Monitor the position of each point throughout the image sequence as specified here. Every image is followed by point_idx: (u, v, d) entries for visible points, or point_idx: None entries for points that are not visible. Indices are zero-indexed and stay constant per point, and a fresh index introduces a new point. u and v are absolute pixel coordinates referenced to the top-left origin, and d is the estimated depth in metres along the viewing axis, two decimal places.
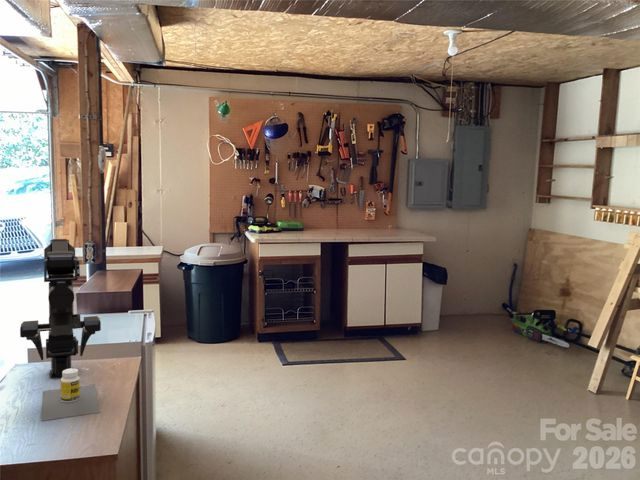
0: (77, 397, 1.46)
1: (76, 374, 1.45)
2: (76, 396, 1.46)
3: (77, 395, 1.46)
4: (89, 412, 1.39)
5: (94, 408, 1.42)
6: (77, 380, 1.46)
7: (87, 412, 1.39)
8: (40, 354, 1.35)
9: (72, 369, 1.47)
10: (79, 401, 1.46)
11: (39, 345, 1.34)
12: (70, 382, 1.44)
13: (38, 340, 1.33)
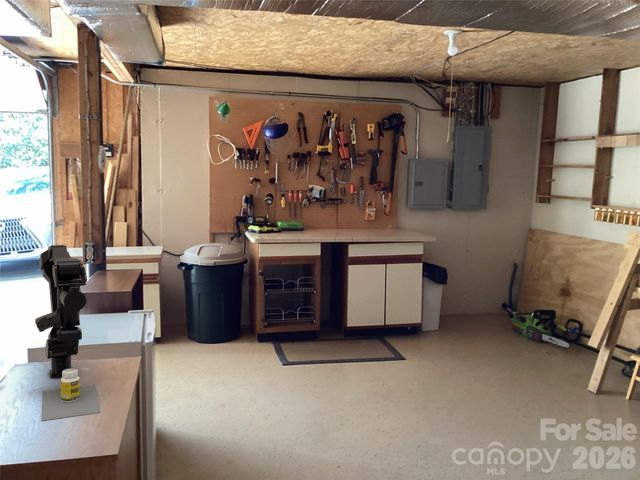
0: (77, 397, 1.46)
1: (76, 374, 1.45)
2: (76, 396, 1.46)
3: (77, 395, 1.46)
4: (89, 412, 1.39)
5: (94, 408, 1.42)
6: (77, 380, 1.46)
7: (87, 412, 1.39)
8: None
9: (72, 369, 1.47)
10: (79, 401, 1.46)
11: None
12: (70, 382, 1.44)
13: None
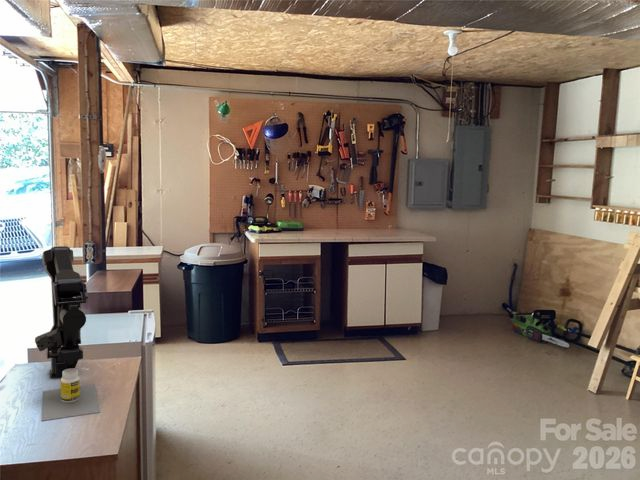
0: (77, 397, 1.46)
1: (76, 374, 1.45)
2: (76, 396, 1.46)
3: (77, 395, 1.46)
4: (89, 412, 1.39)
5: (94, 408, 1.42)
6: (77, 380, 1.45)
7: (87, 412, 1.39)
8: None
9: (72, 369, 1.46)
10: (79, 401, 1.46)
11: None
12: (70, 383, 1.44)
13: None
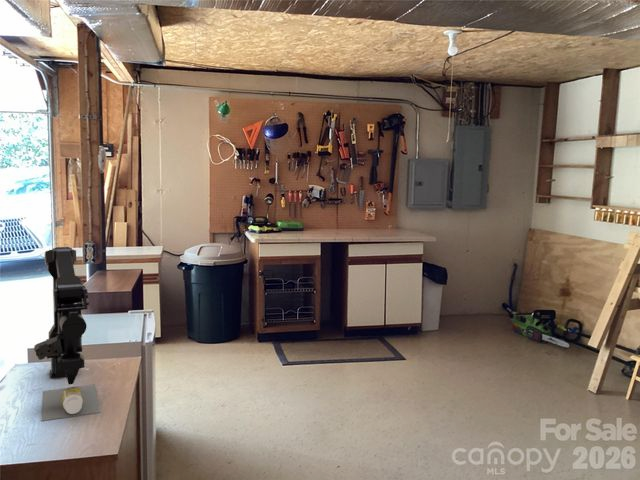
0: None
1: None
2: None
3: None
4: (89, 412, 1.39)
5: (94, 408, 1.42)
6: None
7: (87, 412, 1.39)
8: None
9: (76, 402, 1.37)
10: None
11: None
12: None
13: None
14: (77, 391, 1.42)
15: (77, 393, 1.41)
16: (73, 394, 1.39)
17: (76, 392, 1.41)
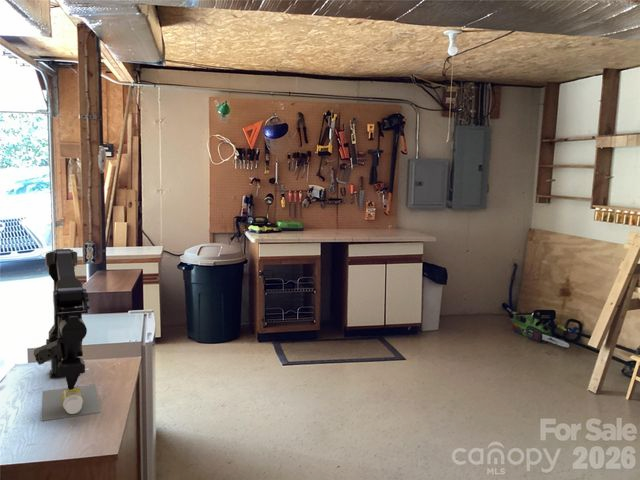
0: None
1: None
2: None
3: None
4: (89, 412, 1.39)
5: (94, 408, 1.42)
6: None
7: (87, 412, 1.39)
8: None
9: (76, 402, 1.37)
10: None
11: None
12: None
13: None
14: (77, 391, 1.42)
15: (77, 393, 1.41)
16: (73, 394, 1.39)
17: (76, 392, 1.41)
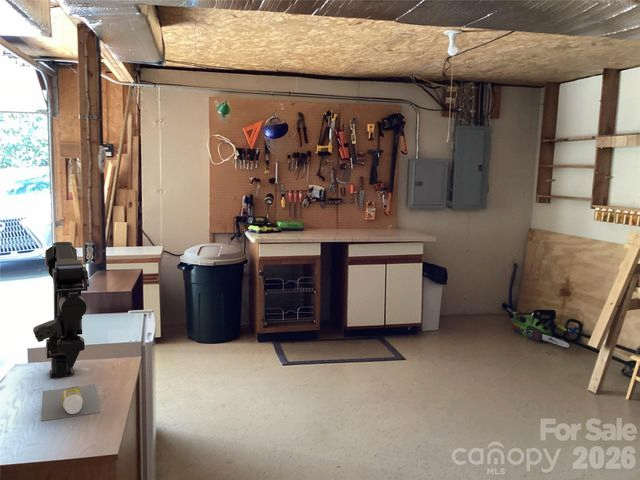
0: None
1: None
2: None
3: None
4: (89, 412, 1.39)
5: (94, 408, 1.42)
6: None
7: (87, 412, 1.39)
8: None
9: (76, 402, 1.37)
10: None
11: None
12: None
13: None
14: (77, 391, 1.42)
15: (77, 393, 1.41)
16: (73, 394, 1.39)
17: (76, 392, 1.41)
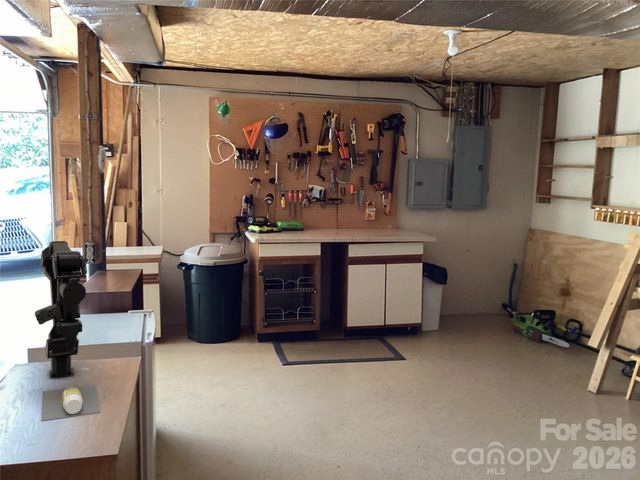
0: None
1: None
2: None
3: None
4: (89, 412, 1.39)
5: (94, 408, 1.42)
6: None
7: (87, 412, 1.39)
8: None
9: (76, 402, 1.37)
10: None
11: None
12: None
13: None
14: (77, 391, 1.42)
15: (77, 393, 1.41)
16: (73, 394, 1.39)
17: (76, 392, 1.41)
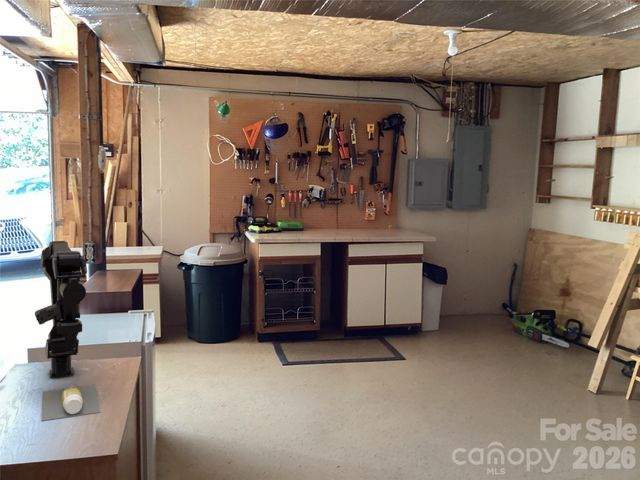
0: None
1: None
2: None
3: None
4: (89, 412, 1.39)
5: (94, 408, 1.42)
6: None
7: (87, 412, 1.39)
8: None
9: (76, 402, 1.37)
10: None
11: None
12: None
13: None
14: (77, 391, 1.42)
15: (77, 393, 1.41)
16: (73, 394, 1.39)
17: (76, 392, 1.41)
